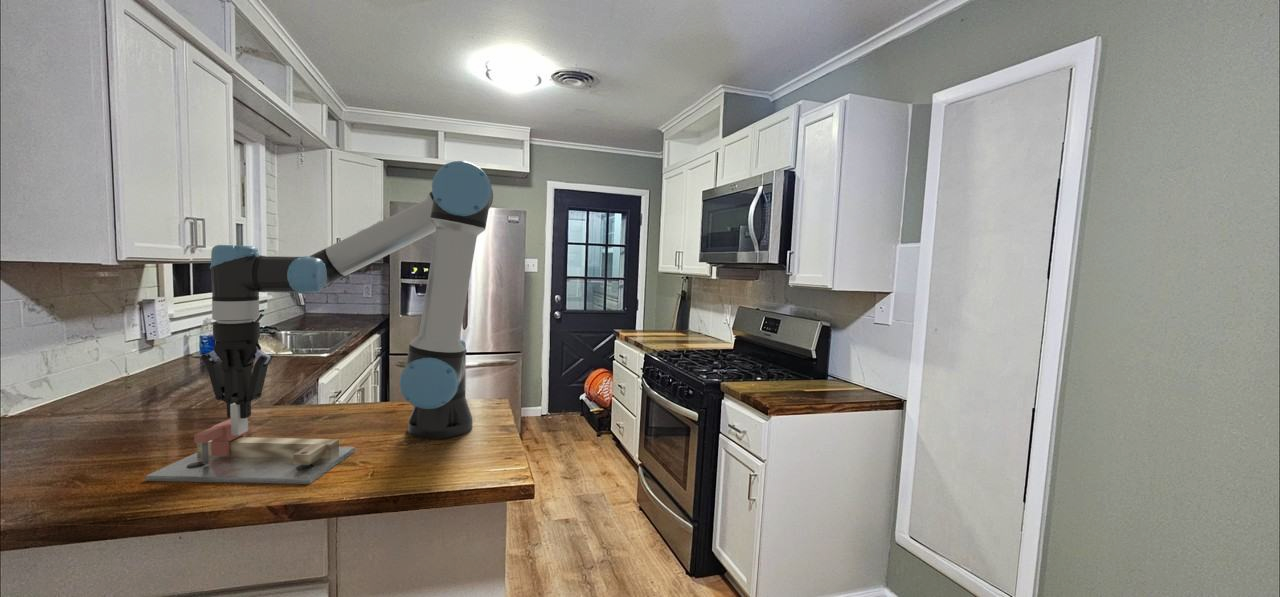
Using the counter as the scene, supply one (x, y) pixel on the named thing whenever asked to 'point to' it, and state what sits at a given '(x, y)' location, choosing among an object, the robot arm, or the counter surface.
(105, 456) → the counter surface
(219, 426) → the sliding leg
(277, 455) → the beam with fixed leg
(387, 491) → the counter surface
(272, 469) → the steel plate
